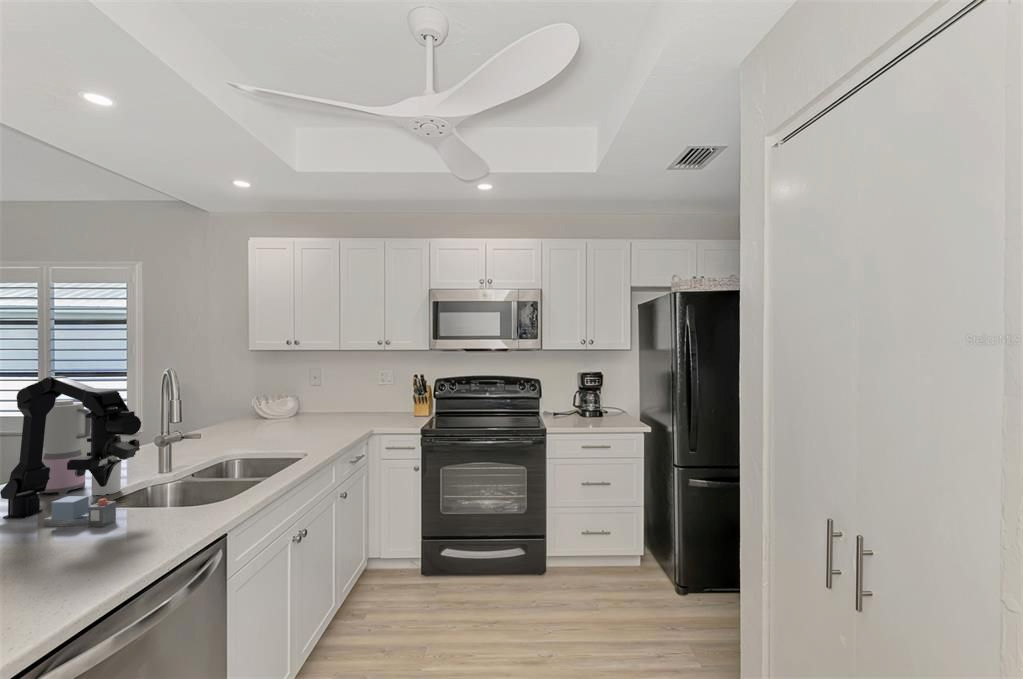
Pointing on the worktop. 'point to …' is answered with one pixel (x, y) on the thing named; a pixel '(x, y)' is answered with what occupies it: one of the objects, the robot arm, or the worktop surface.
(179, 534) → the worktop surface
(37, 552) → the worktop surface
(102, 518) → the end cabinet
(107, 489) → the pill bottle
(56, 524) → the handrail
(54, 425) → the blender
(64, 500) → the pale blue box
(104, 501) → the gauge button
